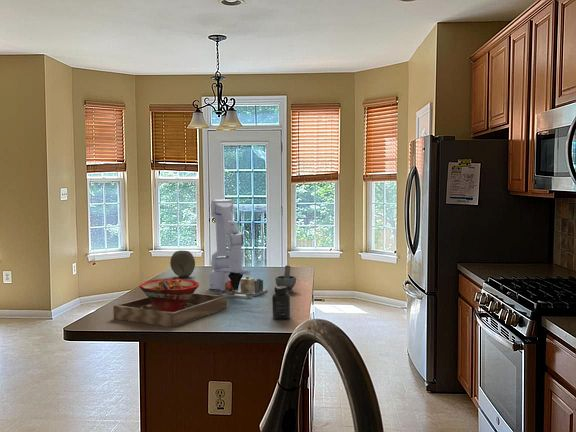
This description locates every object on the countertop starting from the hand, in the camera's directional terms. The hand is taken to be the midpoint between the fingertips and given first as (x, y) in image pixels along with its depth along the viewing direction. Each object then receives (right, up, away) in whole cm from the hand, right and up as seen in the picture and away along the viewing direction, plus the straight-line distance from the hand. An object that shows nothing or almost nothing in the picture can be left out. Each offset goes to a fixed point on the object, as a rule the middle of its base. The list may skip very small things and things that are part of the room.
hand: (235, 289), depth 246 cm
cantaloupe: (-35, -1, +56) cm, 66 cm away
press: (+6, -3, +8) cm, 11 cm away
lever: (-3, -2, +1) cm, 4 cm away
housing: (+5, -2, +9) cm, 10 cm away
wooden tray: (-22, -5, -31) cm, 39 cm away
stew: (-24, -6, -32) cm, 40 cm away
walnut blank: (-3, -3, +11) cm, 12 cm away
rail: (0, -3, 0) cm, 3 cm away
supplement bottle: (+21, -6, -40) cm, 46 cm away
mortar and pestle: (+23, -3, +12) cm, 26 cm away
